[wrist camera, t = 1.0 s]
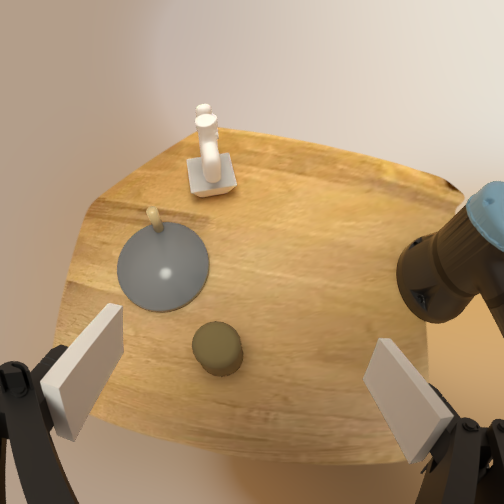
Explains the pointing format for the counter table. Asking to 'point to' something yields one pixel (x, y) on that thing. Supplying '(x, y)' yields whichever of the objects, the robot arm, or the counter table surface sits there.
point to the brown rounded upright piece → (218, 348)
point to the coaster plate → (163, 265)
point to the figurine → (209, 159)
